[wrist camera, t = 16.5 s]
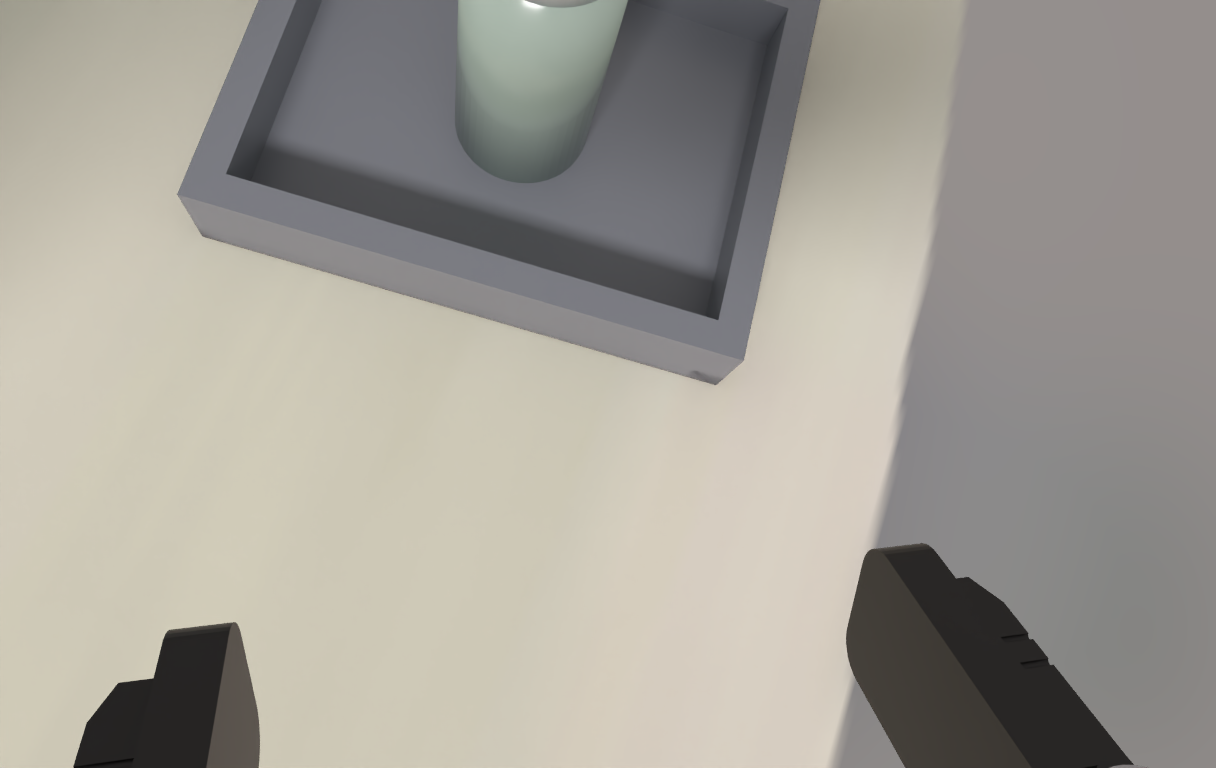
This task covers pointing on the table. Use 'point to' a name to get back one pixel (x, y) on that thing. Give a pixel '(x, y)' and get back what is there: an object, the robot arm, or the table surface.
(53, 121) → the table surface
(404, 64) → the tray
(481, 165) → the shaker
